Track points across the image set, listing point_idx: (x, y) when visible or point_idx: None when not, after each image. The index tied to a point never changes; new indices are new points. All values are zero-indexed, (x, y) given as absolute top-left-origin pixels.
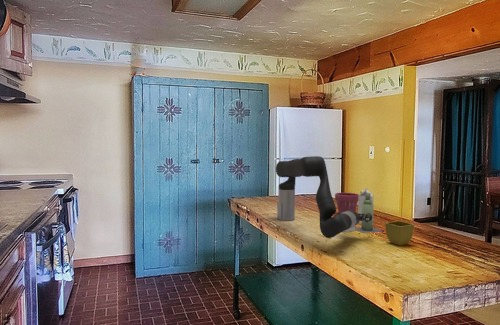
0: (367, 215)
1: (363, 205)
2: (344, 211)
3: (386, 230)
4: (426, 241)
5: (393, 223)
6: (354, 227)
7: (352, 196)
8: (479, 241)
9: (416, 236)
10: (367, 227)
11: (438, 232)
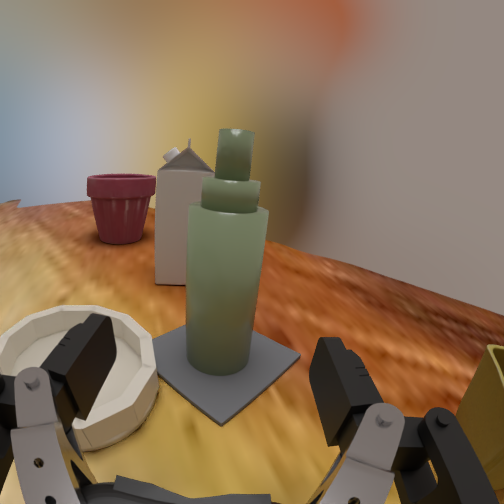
0: (460, 491)
1: (205, 221)
2: (112, 230)
3: (490, 473)
4: (473, 373)
5: (498, 386)
6: (152, 385)
7: (135, 180)
8: (488, 311)
9: (416, 345)
10: (228, 360)
11: (405, 293)
